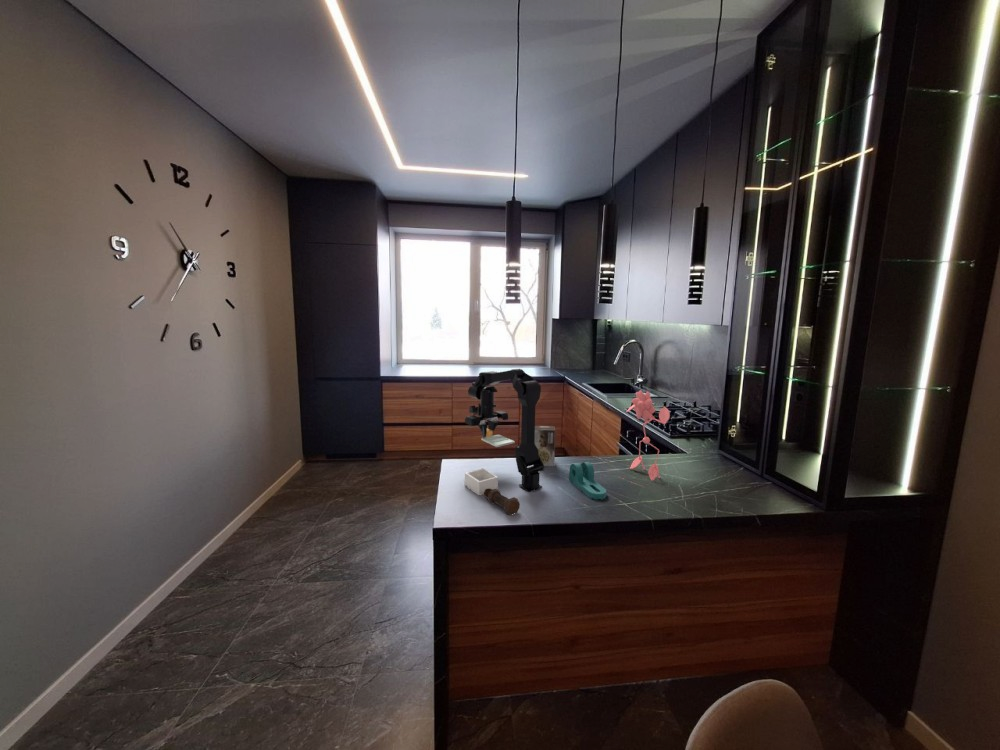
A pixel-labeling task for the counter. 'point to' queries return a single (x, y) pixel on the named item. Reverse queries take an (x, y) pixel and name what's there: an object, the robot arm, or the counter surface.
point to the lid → (496, 439)
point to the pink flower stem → (645, 410)
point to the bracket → (586, 480)
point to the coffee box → (545, 444)
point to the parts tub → (480, 481)
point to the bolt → (502, 501)
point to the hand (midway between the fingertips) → (486, 437)
